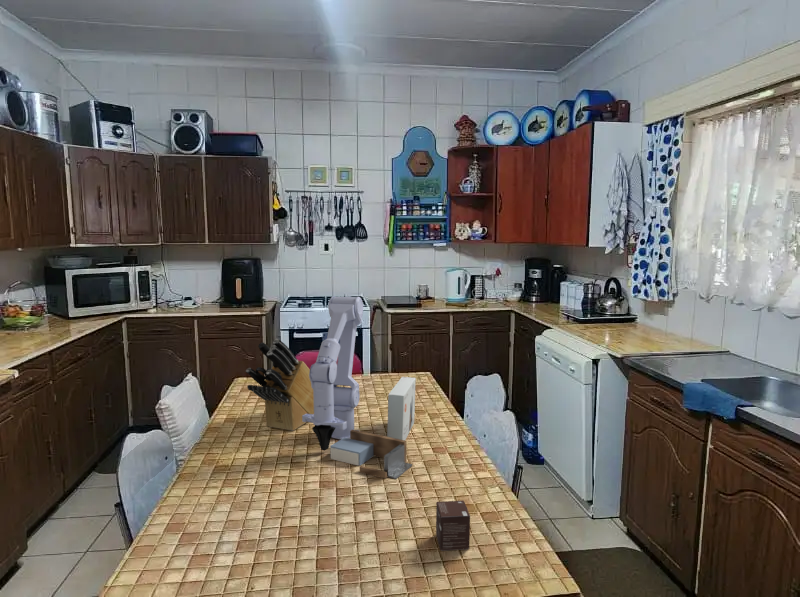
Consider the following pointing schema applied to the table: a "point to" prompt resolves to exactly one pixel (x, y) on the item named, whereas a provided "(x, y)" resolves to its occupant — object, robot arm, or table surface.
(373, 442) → the shelf
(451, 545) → the box
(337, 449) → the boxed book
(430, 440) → the table surface
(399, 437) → the skincare box
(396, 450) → the bookend
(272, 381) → the knife block
